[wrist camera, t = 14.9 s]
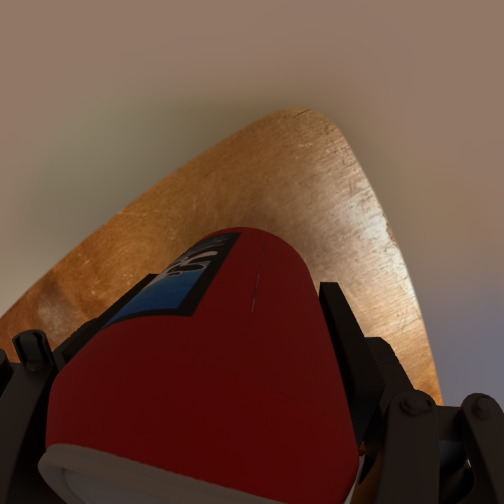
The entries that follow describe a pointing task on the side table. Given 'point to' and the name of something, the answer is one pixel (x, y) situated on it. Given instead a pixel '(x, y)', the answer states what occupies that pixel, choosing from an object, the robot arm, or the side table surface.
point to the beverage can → (207, 389)
